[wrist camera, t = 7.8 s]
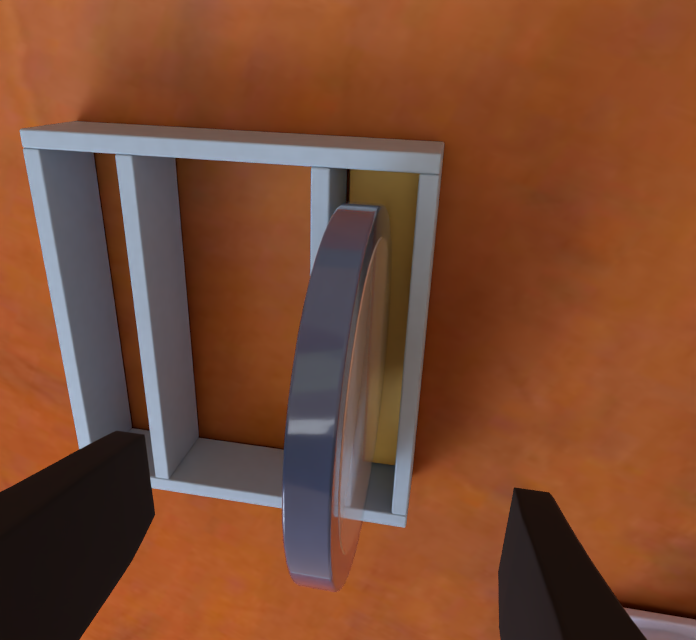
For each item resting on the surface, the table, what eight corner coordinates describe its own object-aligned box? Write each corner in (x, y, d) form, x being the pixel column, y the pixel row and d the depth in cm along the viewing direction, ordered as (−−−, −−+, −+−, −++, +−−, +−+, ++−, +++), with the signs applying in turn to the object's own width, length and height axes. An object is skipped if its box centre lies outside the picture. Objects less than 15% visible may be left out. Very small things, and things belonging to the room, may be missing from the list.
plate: (379, 452, 20) (323, 695, 11) (352, 449, 20) (277, 686, 12) (400, 184, 17) (344, 247, 8) (368, 182, 17) (281, 242, 9)
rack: (412, 478, 21) (405, 528, 18) (122, 436, 22) (83, 478, 20) (444, 141, 16) (441, 153, 14) (74, 120, 18) (18, 128, 15)
